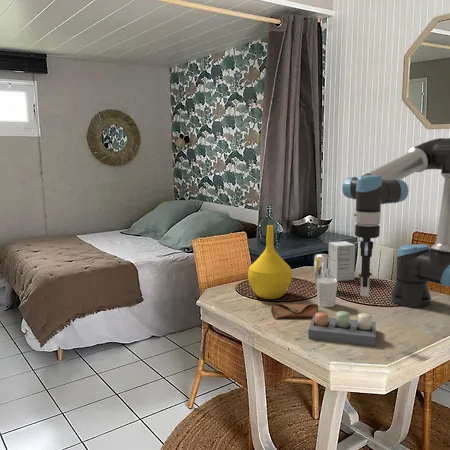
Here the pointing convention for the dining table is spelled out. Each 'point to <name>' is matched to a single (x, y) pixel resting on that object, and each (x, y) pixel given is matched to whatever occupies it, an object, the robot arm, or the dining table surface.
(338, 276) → the supplement box
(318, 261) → the beer glass
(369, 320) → the button cream
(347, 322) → the button sage
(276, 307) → the sunglasses case
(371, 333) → the panel
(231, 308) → the dining table surface
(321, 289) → the white cup
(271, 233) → the vase
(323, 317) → the button terracotta
